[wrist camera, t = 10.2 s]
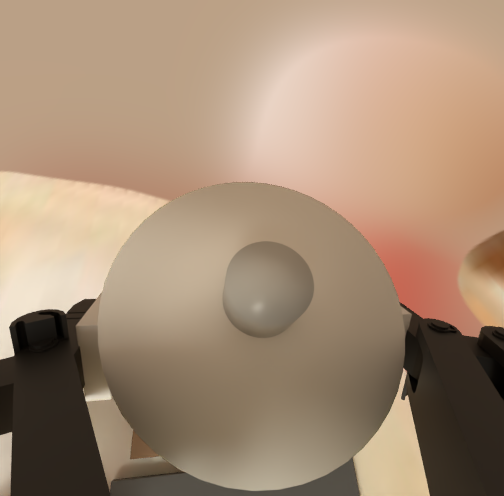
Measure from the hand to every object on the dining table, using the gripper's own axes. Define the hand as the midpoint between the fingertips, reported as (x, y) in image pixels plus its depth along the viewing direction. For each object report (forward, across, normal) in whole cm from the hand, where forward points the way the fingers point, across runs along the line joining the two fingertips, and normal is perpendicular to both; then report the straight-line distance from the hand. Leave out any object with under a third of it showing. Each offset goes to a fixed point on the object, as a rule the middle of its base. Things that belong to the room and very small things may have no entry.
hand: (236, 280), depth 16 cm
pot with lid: (0, 0, -5) cm, 5 cm away
